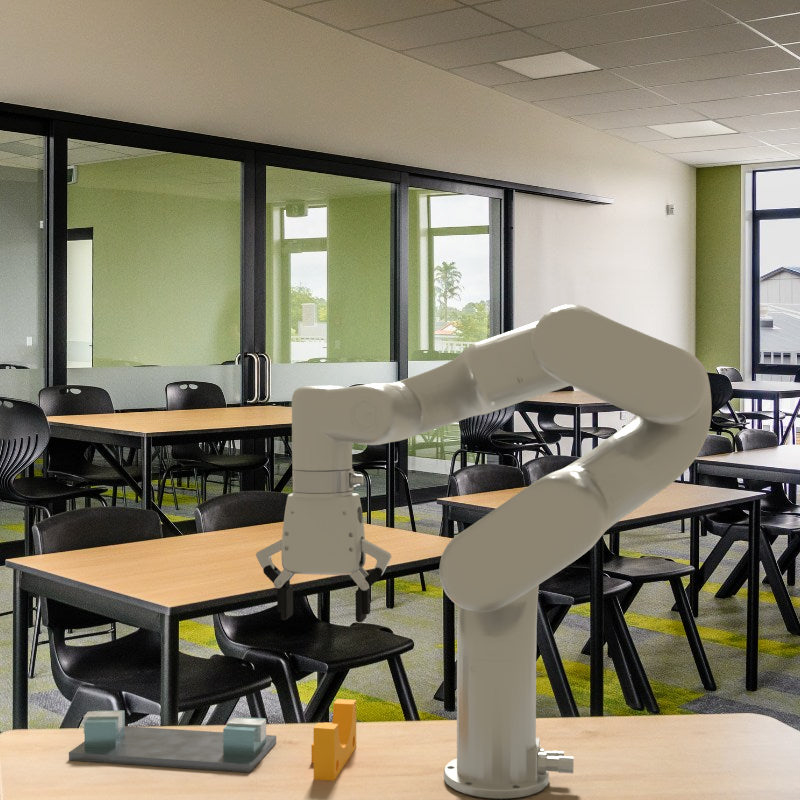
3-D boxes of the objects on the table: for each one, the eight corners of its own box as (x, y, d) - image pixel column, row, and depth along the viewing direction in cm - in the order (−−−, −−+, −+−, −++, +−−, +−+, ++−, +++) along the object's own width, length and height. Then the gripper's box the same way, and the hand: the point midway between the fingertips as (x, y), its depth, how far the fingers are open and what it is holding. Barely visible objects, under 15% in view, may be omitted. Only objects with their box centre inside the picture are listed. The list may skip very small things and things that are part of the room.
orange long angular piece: (324, 746, 142) (324, 698, 142) (356, 748, 142) (356, 699, 141) (299, 779, 131) (299, 727, 130) (334, 782, 130) (334, 729, 130)
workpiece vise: (276, 743, 143) (276, 709, 143) (249, 772, 132) (249, 736, 132) (106, 732, 147) (106, 699, 147) (67, 760, 137) (67, 724, 137)
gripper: (395, 481, 138) (396, 614, 138) (265, 480, 141) (267, 610, 141) (384, 487, 130) (385, 627, 131) (247, 485, 133) (248, 623, 134)
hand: (323, 618), depth 136 cm, fingers open, 9 cm apart
